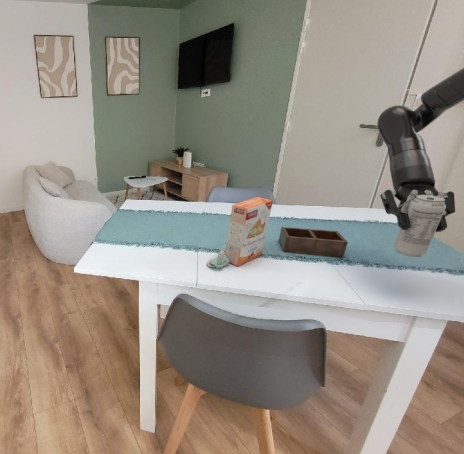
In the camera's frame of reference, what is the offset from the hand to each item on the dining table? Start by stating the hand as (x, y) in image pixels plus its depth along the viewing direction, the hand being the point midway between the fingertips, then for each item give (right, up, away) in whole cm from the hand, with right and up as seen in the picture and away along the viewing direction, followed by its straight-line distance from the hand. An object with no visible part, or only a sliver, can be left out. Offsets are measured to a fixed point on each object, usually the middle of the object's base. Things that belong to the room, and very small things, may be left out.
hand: (423, 229), depth 71 cm
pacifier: (-40, -13, +28) cm, 51 cm away
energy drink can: (+1, -6, +4) cm, 8 cm away
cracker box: (-29, -11, +31) cm, 44 cm away
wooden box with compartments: (-3, -7, +35) cm, 36 cm away
